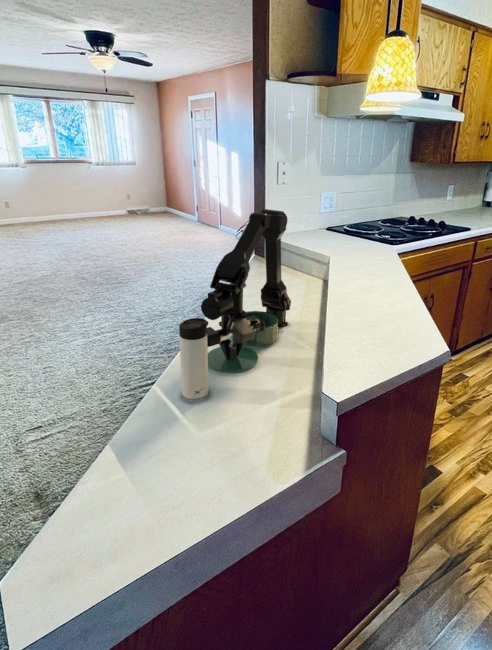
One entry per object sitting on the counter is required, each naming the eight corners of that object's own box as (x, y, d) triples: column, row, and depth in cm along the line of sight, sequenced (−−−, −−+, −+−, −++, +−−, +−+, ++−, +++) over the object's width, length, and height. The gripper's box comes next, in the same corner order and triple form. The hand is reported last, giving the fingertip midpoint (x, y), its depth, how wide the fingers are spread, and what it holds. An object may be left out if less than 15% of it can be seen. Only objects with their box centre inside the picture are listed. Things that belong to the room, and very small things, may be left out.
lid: (239, 344, 126) (239, 329, 124) (268, 364, 116) (269, 348, 114) (195, 357, 117) (195, 341, 115) (223, 381, 107) (223, 364, 105)
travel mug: (203, 404, 97) (201, 328, 89) (177, 400, 98) (173, 324, 90) (213, 390, 102) (212, 317, 95) (188, 386, 104) (185, 313, 96)
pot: (260, 325, 139) (260, 307, 137) (286, 340, 130) (287, 322, 127) (225, 335, 131) (225, 316, 129) (250, 352, 121) (250, 333, 119)
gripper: (217, 325, 99) (217, 380, 104) (277, 309, 110) (275, 359, 116) (195, 309, 106) (196, 362, 112) (253, 296, 118) (252, 344, 124)
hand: (231, 357), depth 116 cm, fingers closed on lid, 3 cm apart
